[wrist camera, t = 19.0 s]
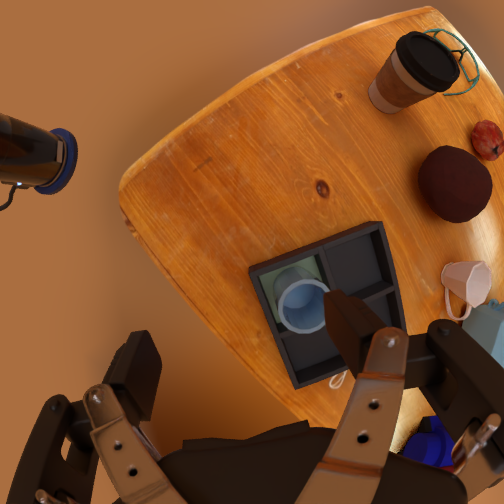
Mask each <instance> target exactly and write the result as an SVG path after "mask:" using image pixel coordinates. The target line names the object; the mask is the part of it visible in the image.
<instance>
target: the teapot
mask: <svg viewBox="0 0 504 504" xmlns="http://www.w3.org/2000/svg"><path fill="white" fill-rule="evenodd" d="M494 303H495V304H494ZM465 313H466V311H465ZM464 315H465V314H464ZM462 329H463V330H465V331H466V332H467V333H468V334H469V335H470V336H471V337H472V338H473V339H474V340H475V341H476V342H477V343H478V344H480V345H481V346H482V347H483V348H484V349H485V350H486V351H487V352H488V353H489V354H490V355H491V356H492V357H493V358H494V359H495V360H496V361H497V362H498V363H499V364H500V365H501V366H502V367H503V368H504V302H502V303H501V304H499V303H498V301H497V300H496V299H491V300H490V301H489V303H488V305H478V306H477V307H475V308H473V307H472V308H471V311H470V314H469V316H468V317H467V318H466V319H464V320H463V324H462Z"/></svg>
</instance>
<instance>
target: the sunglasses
mask: <svg viewBox="0 0 504 504" xmlns="http://www.w3.org/2000/svg"><path fill="white" fill-rule="evenodd" d="M440 31H444V32H446V33H448V34H450V35H452V36H453V37H455V38H456V39H457V40H459V42H460V43H461V44H462V45H463V46H464V48H463V49H462V50H450V49H449V48H448V47H447V46H445V45H444V44H443V43H442V42H441V41H439V40H438V39H437V38H436V37H435V36H436V34H437V33H438V32H440ZM428 32H435V33H434V36H433V38H434V39H436V40H437V41H439V42H440V43H441V44H443V45H444V46H445V47H446V48H447V49H448V50H449V51H450V52H460V54H461V57H460V59H459V61H460V62H459V63H460V65H461V67H462V69H463V71H464V73H465V75H466V77H467V80H468V81H469V82H472V81H474V82H473V84H472V86H471V87H470V88H469V89H468V90H466V91H464V92H459V93H450V94H444V95H459V94H463V93H465V92H467V91H469V90H470V89H472V88H473V87H474V86H475V85H476V83H477V82H478V80H479V76H480V74H479V69H478V64H477V62H476V60H475V58H474V56H473V54H472V53H471V51H470V50H469V48H468V47H467V46H466V45H465V44H464V43H463V42H462V41H461V40H460V39H459V38H458V37H457V36H455V35H454V34H452V33H450V32H448V31H446V30H444V29H439V28H438V29H430V30H428V31H425V32H424V34H425V33H428ZM464 49H466V50H465V51H464V52H462V51H463V50H464ZM466 51H468V52H469V53H470V55H471V57H472V58H473V60H474V62H475V64H476V69H477V73H478V76H477V77H476V78H474V79H472V80H469V78H468V76H467V74H466V72H465V70H464V68H463V66H462V64H461V60H462V58H463V54H464V53H465V52H466Z"/></svg>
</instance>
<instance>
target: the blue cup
mask: <svg viewBox="0 0 504 504" xmlns="http://www.w3.org/2000/svg"><path fill="white" fill-rule="evenodd" d="M329 291H330V290H329V289H328V287H327V286H326V285H325V284H324V283H323V282H322V281H320V280H319V279H318V278H317V277H316V276H315V275H314V274H312V273H311V272H310V271H308V270H307V269H305V268H302V267H290V268H287V269H285V270H283V271H282V272H281V273H279V274H278V276H277V277H276V279H275V281H274V283H273V297H274V300H275V304H276V307H277V311H278V314H279V317H280V319H281V322H282V323H283V324H284V325H285V326H286V327H287V328H288V329H289V330H291V331H294V332H296V333H299V334H300V333H312V332H314V331H317V330H319V329H321V328H322V327H323V326H324V325H325V315H324V302H323V294H324V293H325V292H329Z"/></svg>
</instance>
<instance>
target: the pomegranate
mask: <svg viewBox="0 0 504 504" xmlns="http://www.w3.org/2000/svg"><path fill="white" fill-rule="evenodd" d="M471 138H472V143H473V146H474V148H475V150H476V151H477V152H478V153H480V155H481V156H482V158H484V159H485V160H488V161H494V160H496V159H497V158H498V157H499V155H501V154H502V153H503V152H504V140H503V134H502V132H501V130H500V128H499V127H498V126H497V125H496V124H495V123H493V122H492V121H489V120H484V121H482V122H478V123H477V124H476V125H475V127H474V130H473V132H472V134H471Z"/></svg>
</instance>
